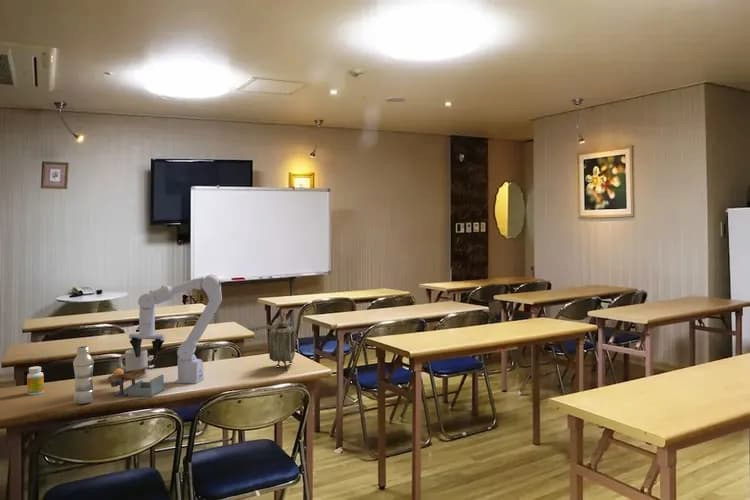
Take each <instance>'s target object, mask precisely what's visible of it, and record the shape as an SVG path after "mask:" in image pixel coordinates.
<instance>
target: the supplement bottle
mask: <svg viewBox="0 0 750 500" xmlns="http://www.w3.org/2000/svg"><path fill="white" fill-rule="evenodd" d="M41 371H42V367H41V366H38V365H37V366H31V367H28V372H29V373H27V375H26V383H27V384H26V385H27V386H26V387H27V388H26V390H27V395H29V396H30V395H31V396H35V395H40V394H43V393H44V392H45V381H44V380H45V378H44V372H41Z"/></svg>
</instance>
